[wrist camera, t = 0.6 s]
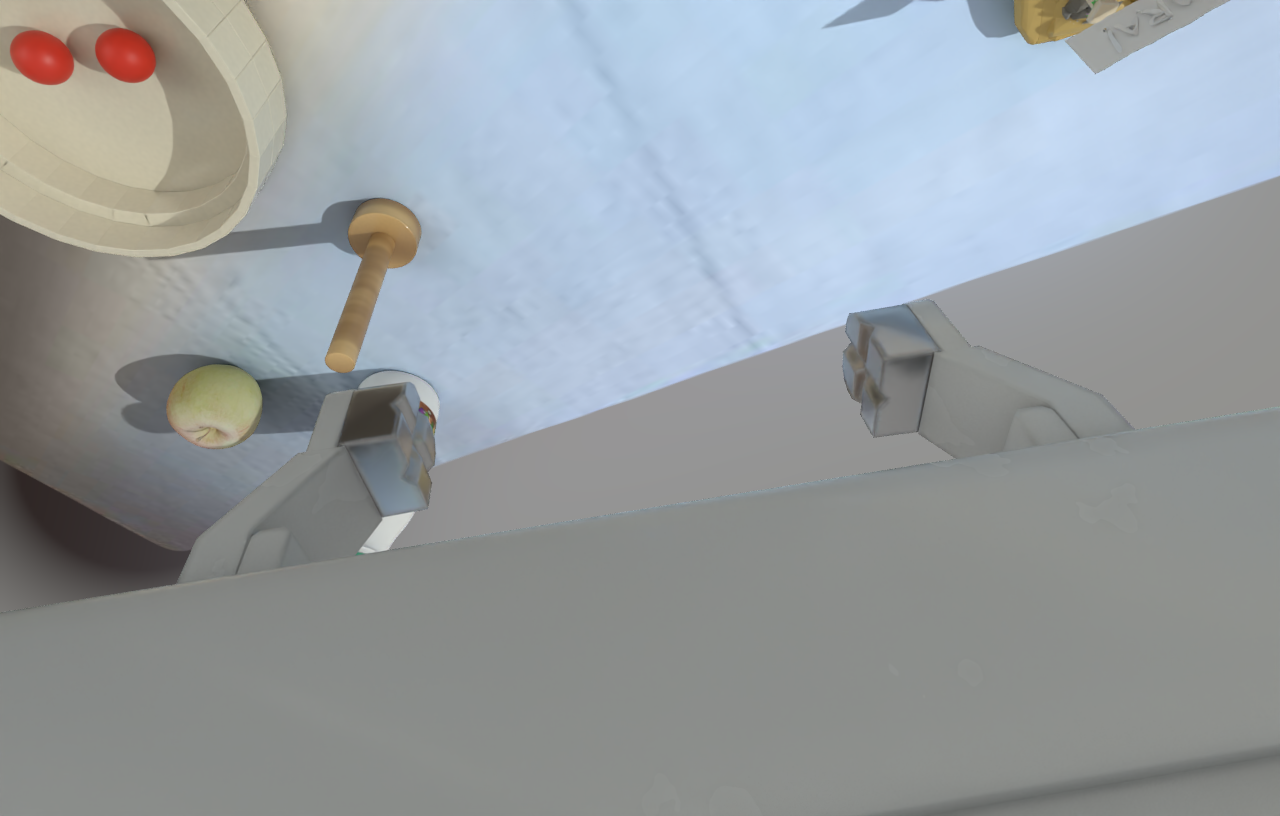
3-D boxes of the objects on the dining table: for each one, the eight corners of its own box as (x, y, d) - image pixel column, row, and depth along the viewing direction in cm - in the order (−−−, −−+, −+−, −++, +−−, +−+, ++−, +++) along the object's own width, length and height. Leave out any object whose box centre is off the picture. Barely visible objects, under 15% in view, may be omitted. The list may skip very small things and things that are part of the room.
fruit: (180, 342, 64) (141, 409, 59) (270, 358, 66) (240, 425, 60) (192, 398, 69) (157, 465, 64) (274, 412, 71) (247, 478, 66)
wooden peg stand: (345, 198, 54) (285, 335, 44) (412, 196, 54) (367, 332, 44) (365, 254, 58) (313, 391, 48) (427, 252, 58) (390, 389, 48)
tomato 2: (98, 20, 44) (74, 40, 42) (148, 19, 44) (126, 39, 42) (125, 70, 46) (103, 92, 44) (173, 69, 46) (153, 91, 44)
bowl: (-205, -145, 38) (-310, -112, 34) (201, -154, 38) (149, -123, 34) (46, 208, 54) (-3, 261, 49) (333, 200, 54) (309, 252, 50)
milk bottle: (385, 429, 73) (336, 613, 60) (341, 378, 68) (275, 568, 55) (455, 413, 72) (419, 598, 59) (415, 359, 66) (366, 550, 53)
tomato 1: (15, 22, 44) (-14, 42, 42) (65, 21, 44) (38, 41, 42) (46, 73, 46) (20, 94, 44) (93, 71, 46) (70, 93, 44)
